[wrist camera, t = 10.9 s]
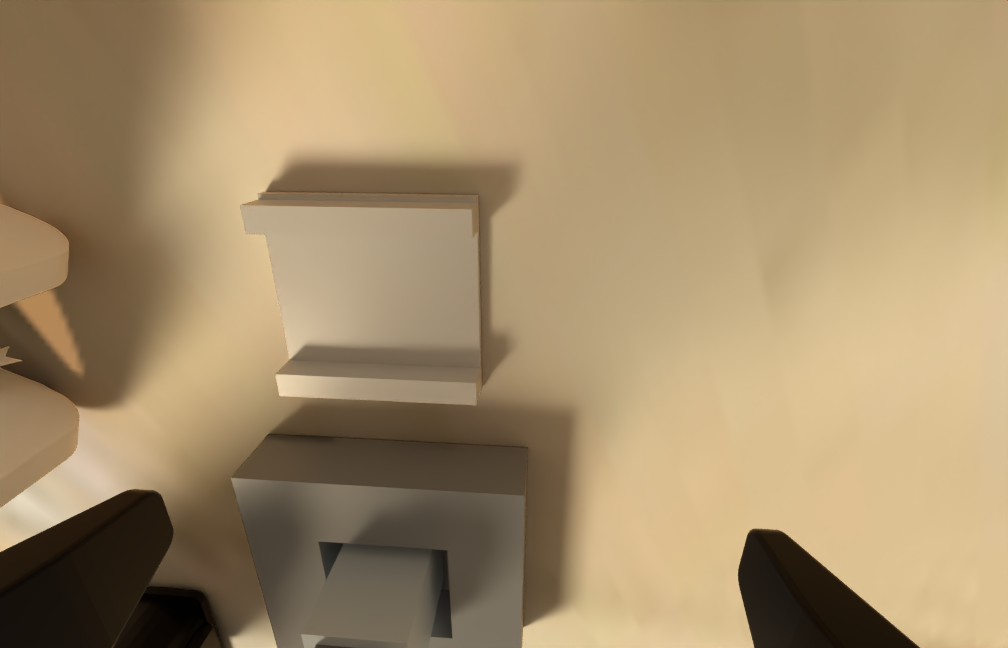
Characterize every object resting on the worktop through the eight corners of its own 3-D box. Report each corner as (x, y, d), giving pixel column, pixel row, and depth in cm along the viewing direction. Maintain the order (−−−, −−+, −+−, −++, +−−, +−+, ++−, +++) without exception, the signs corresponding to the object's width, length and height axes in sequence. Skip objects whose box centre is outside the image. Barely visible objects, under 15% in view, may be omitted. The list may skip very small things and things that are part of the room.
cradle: (299, 379, 22) (280, 400, 20) (264, 191, 18) (238, 199, 17) (481, 387, 21) (476, 409, 20) (478, 194, 18) (471, 203, 16)
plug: (366, 572, 25) (293, 759, 18) (357, 513, 24) (273, 692, 17) (443, 578, 25) (400, 771, 18) (440, 518, 24) (391, 703, 16)
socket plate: (309, 613, 28) (283, 668, 25) (268, 433, 23) (230, 478, 20) (522, 630, 27) (519, 689, 24) (527, 447, 22) (524, 495, 19)
